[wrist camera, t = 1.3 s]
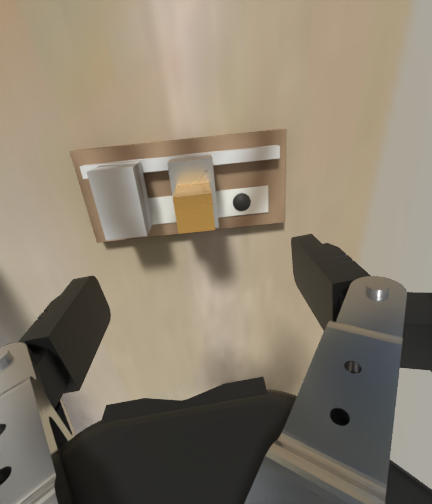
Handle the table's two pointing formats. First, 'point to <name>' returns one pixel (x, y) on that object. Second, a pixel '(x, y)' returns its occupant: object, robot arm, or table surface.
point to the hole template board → (159, 188)
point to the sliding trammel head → (193, 193)
